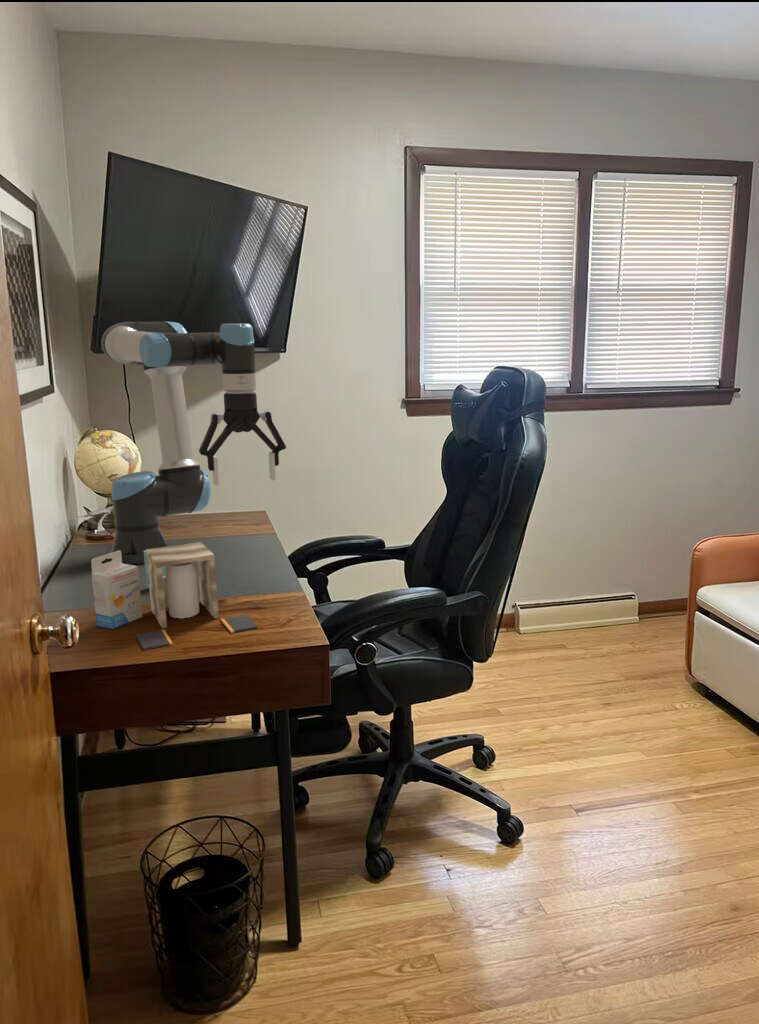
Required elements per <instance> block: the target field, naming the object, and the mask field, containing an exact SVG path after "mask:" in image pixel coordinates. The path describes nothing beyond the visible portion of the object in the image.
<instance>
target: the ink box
mask: <svg viewBox="0 0 759 1024" xmlns="http://www.w3.org/2000/svg"><path fill="white" fill-rule="evenodd" d="M106 559H107V560H110V559H111V561H107V562H104V561H105V560H106ZM102 562H104V563H102ZM90 563H91V564H90V565H91V567H90V568H91V580H92V581H91V583H92V590H93V591H92V592H93V599H94V608H95V609H94V612H95V617H96V618H95V619H96V626H97V627H99V628H100V627H101V628H107V629H111V630H114V629H117V628H119V627H122V626H124V625H126V624H129V623H131V622H134V621H136V620H138V618H139V619H141V618H143V611H142V608H143V607H142V601H141V600H142V599H141V588H140V577H139V566H138V565H134V564H122V557H121V551H120V550H118V551H116V552H112V553H111V552H110V553H106V554H103V555H99V556H97V557H94V558H91V561H90ZM140 617H141V618H140ZM133 620H134V621H133Z"/></svg>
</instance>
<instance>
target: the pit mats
mask: <svg viewBox="0 0 759 1024" xmlns="http://www.w3.org/2000/svg"><path fill="white" fill-rule="evenodd" d="M220 622H221V623H222V624H223V625H224V627H226V629H227V630H228V632H229V633H230V634H233V633H239V632H240V633H241V632H245V631H250V630H254V629H256V630H257V629H258V628H259V627H258V625H257V624H256V623H255V622H254V621H253V620H252V618H250V616H248V614H242V615H241V614H240V615H235V616H231V617H226V618H220ZM135 637H136V638H137V640H138V642H139V644H140V646H141V648H142V650H143V651H146V650H153V649H157V648H162V647H168V646H173V645H174V642H173V641H172V639H171V637H170V636H169V634H168V633H167V631H166V630H165V628H162V629H160V630H159V629H158V630H154V631H148V632H143V633H137V634H136V636H135Z"/></svg>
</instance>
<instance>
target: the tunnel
mask: <svg viewBox="0 0 759 1024" xmlns="http://www.w3.org/2000/svg"><path fill="white" fill-rule="evenodd" d="M146 557H147V568H148V578H149V587H148V588H149V595H150V596H149V599H150V609H151V612H152V614H153V615H155V616H154V617H155V619H156V621H157V620H158V621H157V622H158V624H159V625H160V627H161V628H162V629H165V628H167V627H168V623H167V613H166V608H165V599H164V588H163V577H162V567H164V566H171V565H178V564H185V563H191V562H193V563H197V571H198V573H197V574H198V584H199V586H198V587H199V596H200V598H199V600H200V603H201V604H202V606H203V605H204V606H205V607H206V608H205V607H204V606H203V607H204V608H205V609H206V611H207V610H208V611H209V612H210V613H209V612H208V611H207V612H208V613H209V615H210V616H211V617H212V616H213V617H214V618H215V619H219V618H220V615H219V601H218V599H219V598H218V590H217V578H216V577H217V576H216V562H215V554H214V553H213V552H212V551H211V550H210V549H209V548H208V547H207V546H206V545H204V544H203V543H202V542H201V541H196V542H190V543H184V544H183V543H182V544H175V545H167V547H159V548H152V549H146ZM213 617H212V618H213ZM214 618H213V619H214Z"/></svg>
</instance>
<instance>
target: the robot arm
mask: <svg viewBox="0 0 759 1024" xmlns="http://www.w3.org/2000/svg"><path fill="white" fill-rule="evenodd" d="M100 346H101V349H102V351H103V353H104V355H105V356H106V357H107V358H108V359H109V360H110V361H112V362H114V363H117V364H121V365H126V366H143V372H144V374H145V375H146V376H148V377H149V378H150V381H151V382H150V384H151V389H152V396H153V403H154V409H155V410H154V411H155V417H156V418H155V420H156V424H157V425H156V426H157V431H158V438H159V446H160V452H161V453H160V454H161V458H162V459H161V460H162V463H161V464H160V466H159V467H158V469H157V471H158V475H156V474H155V472H154V471H151V470H149V471H148V470H146V471H144V470H143V471H136V472H132V473H127V474H124V475H121V476H119V477H117V478H115V479H114V480H113V481H112V482H111V495H110V496H111V497H110V498H111V500H112V510H113V516H114V527H115V528H114V529H115V535H114V537H113V538H114V539H113V544H112V547H111V552H110V553H112V552H116V551H118V550H120V551H121V557H122V564H128V565H139V564H145V561H144V551H145V550H146V549H152V548H159V547H167V546H168V544H167V542H166V540H165V538H164V535H163V533H162V530H161V528H160V521H159V519H160V518H162V517H168V516H176V515H181V514H192V513H195V512H199V511H200V512H201V511H202V510H204V509H205V508H206V507H207V505H208V504H209V501H210V498H211V491H212V490H211V488H212V487H211V479H210V477H209V474H208V473H207V471H206V470H203V469H201V464H200V463H199V462H198V461H197V460H195V459H194V452H193V446H192V445H193V444H192V438H191V431H190V424H189V418H188V417H189V415H188V410H187V403H186V397H185V396H186V395H185V390H184V388H185V387H184V381H183V374H184V372H186V370H187V367H190V366H191V367H193V366H195V367H196V366H219V365H220V366H221V369H222V370H221V371H222V372H221V373H222V390H223V391H224V394H223V405H224V409H223V410H224V412H223V414H216V413H211V414H210V424H209V426H208V428H207V431H206V433H205V434H204V437H203V440H202V442H201V444H200V447H199V450H198V453H199V454H200V455H201V456H204V457H206V458H207V468H208V470H209V471H211V472H212V479H213V484H214V485H215V486H219V485H220V484H219V483H220V482H219V467H218V457H217V456H216V453H217V452H218V451H219V450H220V448H221V446H222V445H223V444H224V443H225V442H226V440H227V439H228V437H229V436H230V435H231V434H232V433H233V432H234V433H243V432H244V433H250V432H251V431H253V432H254V433H255V434H256V435H257V437H259V439H261V441H263V442H264V444H265V445H266V446H267V447H268V448H269V449H270V450H271V451H268V465H269V466H268V467H269V469H268V470H269V479H270V480H271V481H276V479H277V477H276V466H279V464H280V459H279V458H280V457H279V455H280V454H279V453H280V452H281V451H283V450H286V449H287V445H286V444H285V441H284V440H283V438H282V436H281V434H280V433H279V431H278V429H277V428H276V426H275V423H274V422H273V419H272V413H271V412H270V411H268V410H264V411H263V412H258V401H257V399H258V397H257V393H256V392H255V391H256V390H257V380H256V358H255V353H256V352H255V338H254V329H253V326H252V325H251V324H250V323H222V324H221V325H220V326H219V332H217V331H216V332H211V331H210V332H188V331H187V330H186V328H184V326H183V325H182V324H181V323H179V322H175V321H166V320H162V321H161V320H160V321H158V320H157V321H124V322H118V323H116V324H114V325H111V326H109V327H108V328H107V329H106V330H105V331H104V332H103V334H102V337H101V343H100ZM260 418H261V420H262V421H263V422H265V424H266V427H267V428H268V430H269V431H270V434H271V435H272V437H273V439H274V441H275V443H276V444H275V443H273V442H272V440H271V439H270V438H269V437H268V436H267V435H266V434H265V433H264V432H263V430H262V429H261V428H260V427H259V426H258V425H257V423H258V421H259V420H260ZM222 421H224V423H225V424H226V425H225V427H224V428H223V430H222V432H221V433H220V434H219V436H218V437H217V438H216V440H214V442H213V444H212V445H211V446H210V444H211V442H212V440H213V437H214V435H215V433H216V430H217V428H218V424H219V425H220V424H221V422H222ZM209 446H210V448H209Z"/></svg>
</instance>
